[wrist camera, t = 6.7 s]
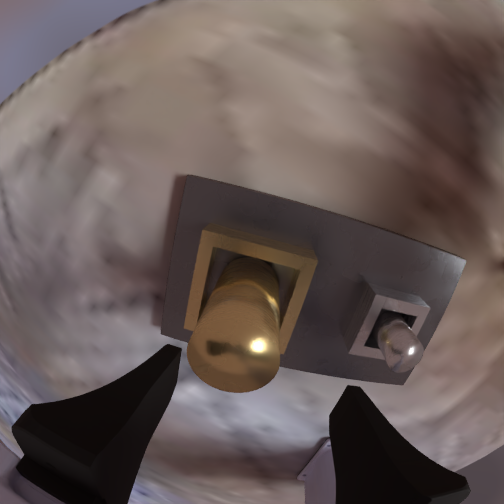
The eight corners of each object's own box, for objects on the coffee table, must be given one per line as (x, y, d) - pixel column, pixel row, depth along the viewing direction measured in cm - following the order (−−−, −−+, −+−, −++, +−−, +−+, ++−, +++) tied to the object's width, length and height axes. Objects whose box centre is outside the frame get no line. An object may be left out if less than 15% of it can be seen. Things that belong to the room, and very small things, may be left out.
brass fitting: (270, 318, 20) (266, 400, 12) (214, 304, 20) (182, 380, 12) (285, 265, 19) (291, 332, 11) (225, 250, 19) (193, 308, 11)
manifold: (399, 378, 22) (421, 424, 17) (164, 327, 22) (135, 373, 16) (459, 256, 19) (504, 285, 13) (191, 174, 19) (157, 179, 13)
